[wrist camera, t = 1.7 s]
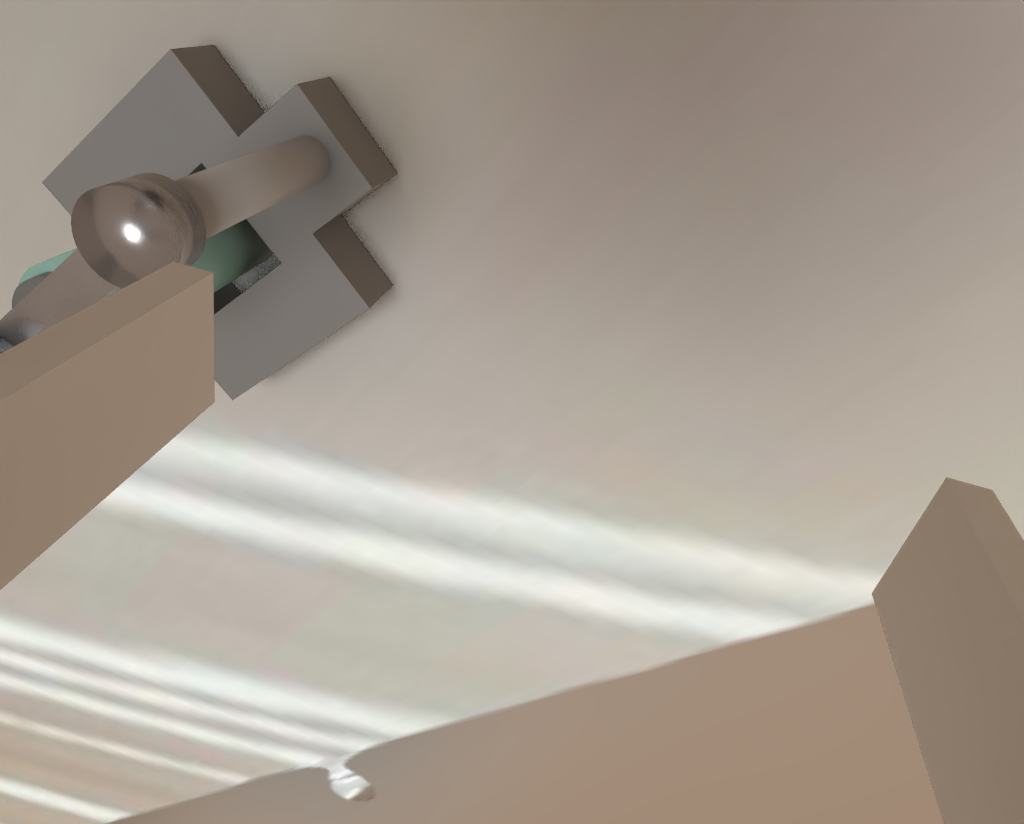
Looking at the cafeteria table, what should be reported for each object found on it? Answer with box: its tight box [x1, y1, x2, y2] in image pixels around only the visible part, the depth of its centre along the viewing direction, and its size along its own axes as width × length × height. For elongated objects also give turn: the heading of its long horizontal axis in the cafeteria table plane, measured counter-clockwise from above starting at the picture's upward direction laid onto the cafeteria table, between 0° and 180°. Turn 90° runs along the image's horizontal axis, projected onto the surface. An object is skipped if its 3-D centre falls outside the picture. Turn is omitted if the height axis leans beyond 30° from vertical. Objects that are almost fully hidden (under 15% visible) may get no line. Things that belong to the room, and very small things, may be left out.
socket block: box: [42, 45, 397, 400], centre depth 38 cm, size 16×16×16 cm
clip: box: [0, 173, 207, 354], centre depth 28 cm, size 12×4×3 cm, turn 125°
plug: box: [12, 219, 273, 309], centre depth 39 cm, size 5×5×16 cm
